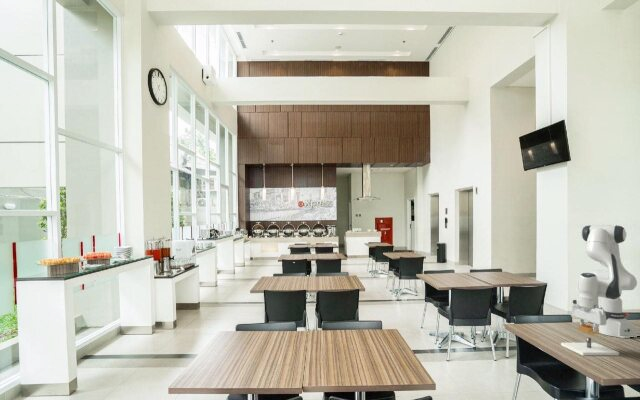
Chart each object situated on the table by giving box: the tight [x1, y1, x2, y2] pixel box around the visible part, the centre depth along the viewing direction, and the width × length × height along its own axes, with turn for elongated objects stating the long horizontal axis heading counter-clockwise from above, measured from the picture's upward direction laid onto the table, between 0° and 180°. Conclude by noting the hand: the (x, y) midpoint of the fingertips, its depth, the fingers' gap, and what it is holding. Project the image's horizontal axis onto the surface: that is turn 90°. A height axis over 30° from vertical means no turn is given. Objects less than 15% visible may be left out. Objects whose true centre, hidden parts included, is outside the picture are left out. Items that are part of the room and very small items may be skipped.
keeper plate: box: [560, 337, 620, 357], centre depth 208 cm, size 20×16×6 cm
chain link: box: [578, 324, 600, 335], centre depth 208 cm, size 6×6×3 cm
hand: (588, 329), depth 208 cm, fingers closed on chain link, 6 cm apart
